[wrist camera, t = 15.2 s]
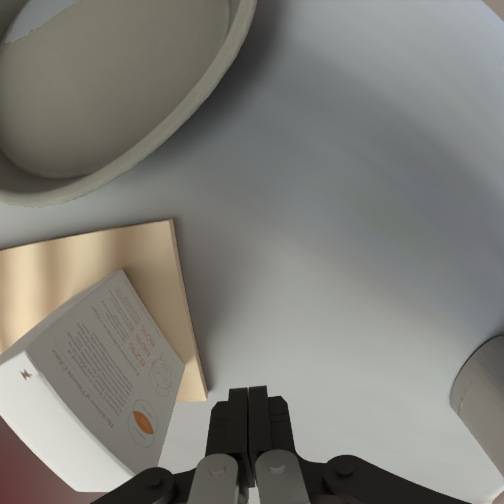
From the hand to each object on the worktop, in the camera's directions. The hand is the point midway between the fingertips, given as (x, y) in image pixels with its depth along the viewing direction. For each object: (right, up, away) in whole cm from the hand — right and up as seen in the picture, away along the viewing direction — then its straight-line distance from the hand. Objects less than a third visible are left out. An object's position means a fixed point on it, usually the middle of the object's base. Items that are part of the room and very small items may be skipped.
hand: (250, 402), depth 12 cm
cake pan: (-12, +22, +4) cm, 25 cm away
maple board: (-14, +1, +8) cm, 16 cm away
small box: (-9, +1, +8) cm, 12 cm away
